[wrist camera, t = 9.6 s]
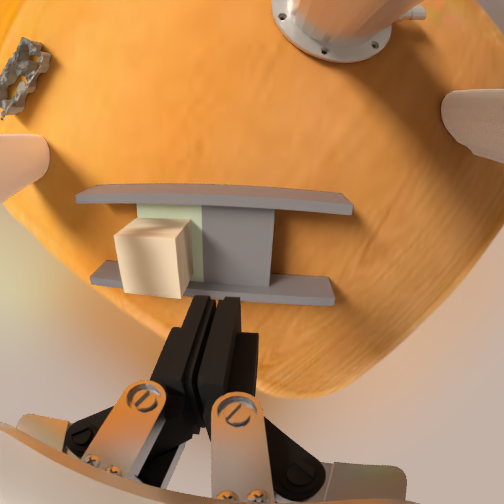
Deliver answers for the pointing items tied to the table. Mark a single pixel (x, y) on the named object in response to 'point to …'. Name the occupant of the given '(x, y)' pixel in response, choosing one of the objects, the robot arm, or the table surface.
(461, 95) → the paper towel roll
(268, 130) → the table surface
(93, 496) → the robot arm
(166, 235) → the maple block
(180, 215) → the pad
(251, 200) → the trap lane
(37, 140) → the foam cup
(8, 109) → the egg carton
